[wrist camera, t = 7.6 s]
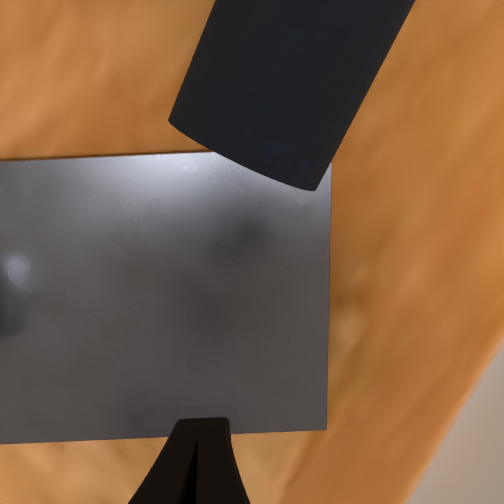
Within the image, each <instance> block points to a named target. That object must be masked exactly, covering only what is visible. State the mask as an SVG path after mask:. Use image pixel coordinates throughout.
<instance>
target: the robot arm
mask: <svg viewBox="0 0 504 504" xmlns="http://www.w3.org/2000/svg"><path fill="white" fill-rule="evenodd" d="M128 504H250V501H249V499H248V496H247V494H246V491H245V488H244V486H243V483H242V480H241V477H240V474H239V471H238V467H237V464H236V461H235V457H234V453H233V449H232V444H231V433H230V420H229V419H227V418H226V417H210V418H189V419H179V420H178V421H177V422H176V423H175V426H174V428H173V430H172V432H171V434H170V436H169V438H168V440H167V442H166V443H165V445H164V447H163V449H162V451H161V452H160V454H159V456H158V458H157V459H156V461H155V463H154V464H153V466H152V468H151V469H150V471H149V472H148V474H147V476H146V477H145V479H144V481H143V482H142V484H141V485H140V487H139V488H138V490H137V491H136V493H135V494H134V495H133V497H132V498H131V500H130V501H129V503H128Z"/></svg>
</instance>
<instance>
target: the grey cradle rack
mask: <svg viewBox="0 0 504 504" xmlns="http://www.w3.org/2000/svg"><path fill="white" fill-rule="evenodd" d="M331 168H332V161H331V163H330V165H329V167H328V169H327V171H326V172H325V174H324V176H323V178H322V180H321V182H320V184H319V186H318V188H317V190H316V191H306V190H302V189H298V188H295V187H292V186H289V185H286V184H284V183H281V182H278V181H276V180H273V179H271V178H268V177H266V176H263V175H261V174H259V173H257V172H254V171H252V170H250V169H248V168H246V167H243V166H241V165H239V164H237V163H235V162H233V161H231V160H229V159H227V158H225V157H223V156H221V155H219V154H217V153H215V152H214V151H212V150H200V151H179V152H157V153H136V154H114V155H93V156H71V157H50V158H28V159H6V160H0V444H20V443H42V442H65V441H87V440H110V439H132V438H155V437H169V436H170V434H171V432H172V430H173V428H174V426H175V423H176V422H177V421H178V420H179V419H189V418H210V417H226V418H227V419H229V420H230V433H231V434H245V433H267V432H290V431H312V430H327V377H328V325H329V273H330V220H331Z"/></svg>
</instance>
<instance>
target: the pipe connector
mask: <svg viewBox="0 0 504 504" xmlns="http://www.w3.org/2000/svg"><path fill="white" fill-rule="evenodd" d="M414 2H415V0H215V3H214V5H213V8H212V10H211V13H210V15H209V18H208V20H207V23H206V25H205V28H204V31H203V33H202V36H201V38H200V41H199V43H198V46H197V48H196V51H195V53H194V56H193V58H192V61H191V63H190V66H189V68H188V71H187V73H186V76H185V78H184V81H183V83H182V86H181V89H180V91H179V94H178V96H177V99H176V101H175V104H174V106H173V109H172V111H171V114H170V116H169V119H168V121H169V122H170V124H171V125H173V126H174V127H175V128H176V129H177V130H179V131H180V132H182V133H183V134H185V135H186V136H188V137H189V138H191V139H193V140H194V141H196V142H197V143H199V144H201V145H203V146H205V147H206V148H208V149H210V150H212V151H214V152H215V153H217V154H219V155H221V156H223V157H225V158H227V159H229V160H231V161H233V162H235V163H237V164H239V165H241V166H243V167H246V168H248V169H250V170H252V171H254V172H257V173H259V174H261V175H263V176H266V177H268V178H271V179H273V180H276V181H278V182H281V183H284V184H286V185H289V186H292V187H295V188H298V189H302V190H306V191H316V190H317V188H318V186H319V184H320V182H321V180H322V178H323V176H324V174H325V172H326V171H327V169H328V167H329V165H330V163H331V161H332V159H333V157H334V155H335V153H336V151H337V149H338V148H339V146H340V144H341V142H342V140H343V138H344V136H345V134H346V132H347V130H348V128H349V126H350V125H351V123H352V121H353V119H354V117H355V115H356V113H357V111H358V109H359V107H360V105H361V103H362V102H363V100H364V98H365V96H366V94H367V92H368V90H369V88H370V86H371V84H372V82H373V80H374V79H375V77H376V75H377V73H378V71H379V69H380V67H381V65H382V63H383V61H384V59H385V57H386V56H387V54H388V52H389V50H390V48H391V46H392V44H393V42H394V40H395V38H396V36H397V34H398V33H399V31H400V29H401V27H402V25H403V23H404V21H405V19H406V17H407V15H408V13H409V12H410V10H411V8H412V6H413V4H414Z"/></svg>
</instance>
